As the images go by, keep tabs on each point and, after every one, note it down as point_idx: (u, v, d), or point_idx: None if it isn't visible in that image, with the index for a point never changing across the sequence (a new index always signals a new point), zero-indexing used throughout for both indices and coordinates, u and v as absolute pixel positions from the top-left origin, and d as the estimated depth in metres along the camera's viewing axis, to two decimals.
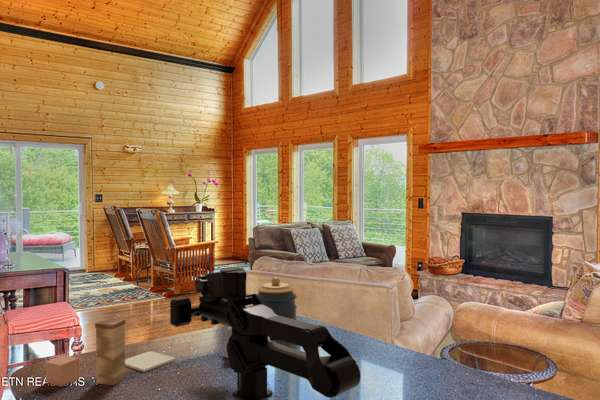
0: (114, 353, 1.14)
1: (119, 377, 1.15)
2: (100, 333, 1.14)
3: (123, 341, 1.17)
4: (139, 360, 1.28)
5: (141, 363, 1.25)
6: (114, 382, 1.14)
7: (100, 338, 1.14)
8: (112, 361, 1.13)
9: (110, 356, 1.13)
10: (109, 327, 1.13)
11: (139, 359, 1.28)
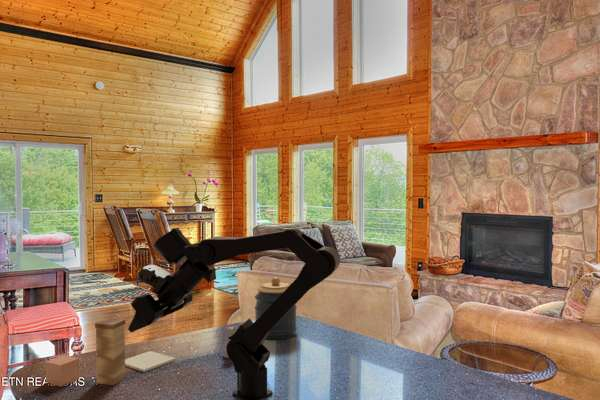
0: (114, 353, 1.14)
1: (119, 377, 1.15)
2: (100, 333, 1.14)
3: (123, 341, 1.17)
4: (139, 360, 1.28)
5: (141, 363, 1.25)
6: (114, 382, 1.14)
7: (100, 338, 1.14)
8: (112, 361, 1.13)
9: (110, 356, 1.13)
10: (109, 327, 1.13)
11: (139, 359, 1.28)
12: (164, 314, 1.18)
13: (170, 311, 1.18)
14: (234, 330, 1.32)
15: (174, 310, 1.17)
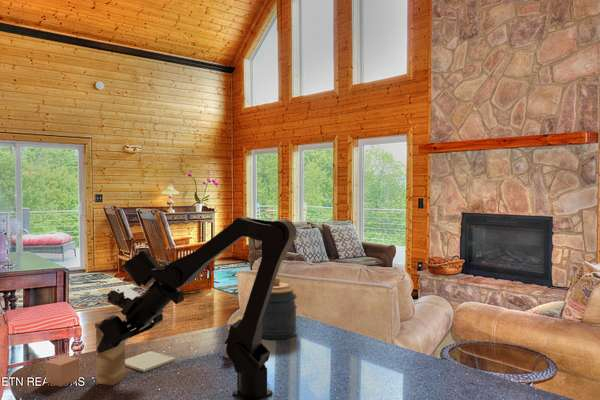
0: (114, 353, 1.14)
1: (119, 377, 1.15)
2: (100, 333, 1.14)
3: None
4: (139, 360, 1.28)
5: (141, 363, 1.25)
6: (114, 382, 1.14)
7: (100, 338, 1.14)
8: (112, 361, 1.13)
9: (110, 356, 1.13)
10: None
11: (139, 359, 1.28)
12: (134, 334, 1.20)
13: (140, 331, 1.19)
14: None
15: (144, 330, 1.19)
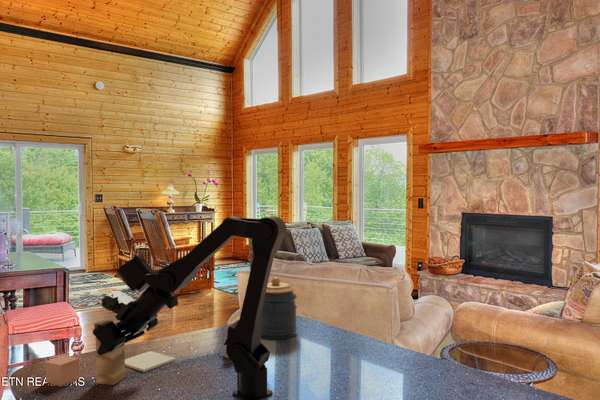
0: (114, 353, 1.14)
1: (119, 376, 1.15)
2: None
3: None
4: (139, 360, 1.28)
5: (141, 363, 1.25)
6: (114, 382, 1.14)
7: None
8: (112, 361, 1.13)
9: (110, 356, 1.13)
10: None
11: (139, 359, 1.28)
12: (124, 341, 1.18)
13: (130, 338, 1.18)
14: None
15: (134, 337, 1.18)
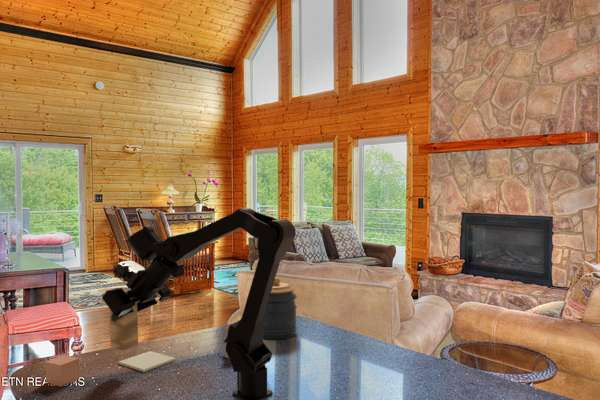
0: (125, 319, 1.18)
1: (131, 343, 1.20)
2: None
3: (135, 309, 1.21)
4: (139, 360, 1.28)
5: (141, 363, 1.25)
6: (126, 348, 1.18)
7: None
8: (123, 327, 1.18)
9: (122, 323, 1.18)
10: None
11: (139, 359, 1.28)
12: (137, 310, 1.22)
13: (143, 307, 1.22)
14: None
15: (146, 306, 1.22)
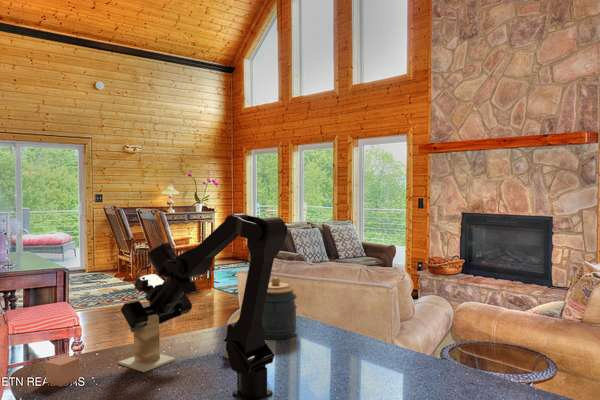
0: (146, 335, 1.25)
1: (152, 357, 1.27)
2: None
3: (157, 325, 1.28)
4: None
5: (141, 363, 1.25)
6: (146, 361, 1.25)
7: None
8: (144, 342, 1.25)
9: (143, 338, 1.25)
10: None
11: None
12: (163, 320, 1.30)
13: (168, 318, 1.29)
14: None
15: (171, 317, 1.29)
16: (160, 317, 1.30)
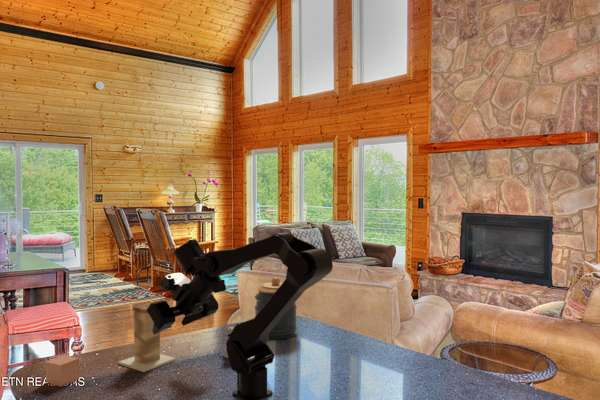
0: (147, 335, 1.25)
1: (152, 357, 1.27)
2: (136, 316, 1.26)
3: None
4: None
5: (141, 363, 1.25)
6: (146, 361, 1.25)
7: (136, 320, 1.26)
8: (144, 342, 1.25)
9: (143, 338, 1.25)
10: (142, 311, 1.25)
11: None
12: (192, 320, 1.25)
13: (196, 317, 1.24)
14: None
15: (199, 317, 1.24)
16: (188, 317, 1.26)
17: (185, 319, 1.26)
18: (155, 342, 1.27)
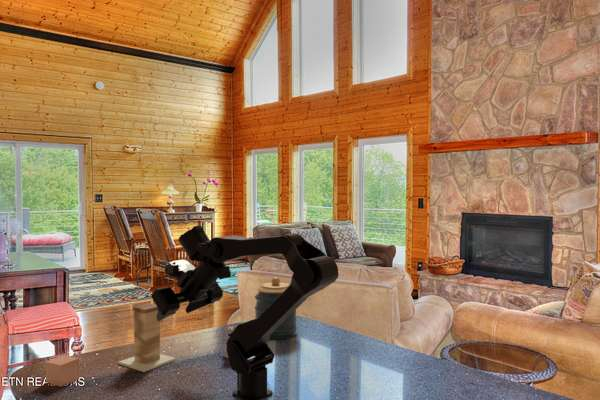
0: (147, 335, 1.25)
1: (152, 357, 1.27)
2: (136, 316, 1.26)
3: (158, 325, 1.28)
4: None
5: (141, 363, 1.25)
6: (146, 361, 1.25)
7: (136, 320, 1.26)
8: (144, 342, 1.25)
9: (143, 338, 1.25)
10: (142, 311, 1.25)
11: None
12: (196, 307, 1.24)
13: (201, 305, 1.24)
14: None
15: (204, 304, 1.23)
16: (192, 304, 1.25)
17: (189, 307, 1.25)
18: (155, 342, 1.27)
